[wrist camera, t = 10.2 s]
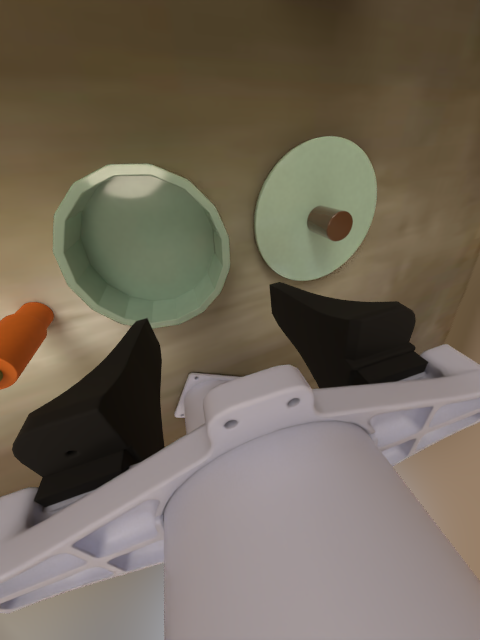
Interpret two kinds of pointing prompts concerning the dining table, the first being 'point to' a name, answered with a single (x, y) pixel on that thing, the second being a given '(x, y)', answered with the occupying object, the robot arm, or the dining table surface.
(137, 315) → the pot
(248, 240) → the dining table surface
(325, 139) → the lid
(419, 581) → the robot arm
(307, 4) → the dining table surface
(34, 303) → the carrot
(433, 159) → the dining table surface
